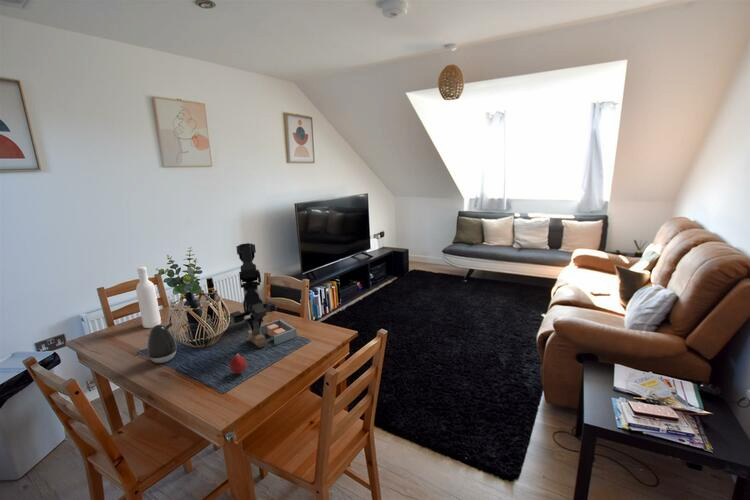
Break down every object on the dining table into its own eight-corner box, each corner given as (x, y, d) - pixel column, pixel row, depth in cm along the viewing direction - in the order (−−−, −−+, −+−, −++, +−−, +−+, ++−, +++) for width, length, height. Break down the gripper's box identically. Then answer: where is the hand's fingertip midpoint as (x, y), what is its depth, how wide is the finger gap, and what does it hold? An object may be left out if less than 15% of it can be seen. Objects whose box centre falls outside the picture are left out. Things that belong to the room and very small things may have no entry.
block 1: (267, 334, 164) (266, 326, 163) (275, 331, 167) (274, 323, 166) (271, 337, 162) (270, 329, 161) (279, 334, 164) (278, 326, 163)
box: (260, 333, 165) (259, 326, 164) (280, 326, 171) (280, 319, 171) (275, 345, 154) (274, 336, 153) (296, 337, 161) (296, 328, 160)
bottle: (139, 328, 174) (127, 269, 167) (149, 321, 181) (138, 265, 174) (155, 328, 174) (144, 269, 167) (164, 321, 181) (154, 264, 174)
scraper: (248, 339, 159) (245, 318, 156) (254, 336, 161) (252, 316, 158) (259, 347, 151) (256, 326, 149) (265, 345, 153) (263, 323, 150)
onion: (237, 379, 130) (235, 359, 128) (227, 375, 133) (225, 355, 131) (250, 371, 134) (248, 352, 133) (241, 367, 137) (238, 348, 136)
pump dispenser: (183, 358, 145) (177, 324, 142) (155, 369, 138) (148, 333, 134) (173, 350, 152) (167, 317, 148) (145, 360, 144) (138, 326, 141)
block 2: (274, 338, 160) (273, 330, 159) (282, 335, 162) (281, 327, 161) (278, 342, 157) (277, 333, 156) (286, 338, 160) (285, 330, 159)
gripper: (237, 308, 139) (242, 344, 143) (280, 295, 151) (284, 329, 155) (226, 300, 147) (231, 335, 151) (268, 289, 159) (272, 321, 163)
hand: (255, 330), depth 155 cm, fingers closed on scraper, 2 cm apart
